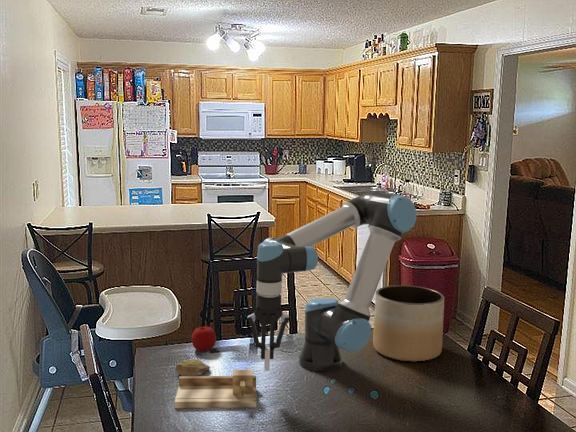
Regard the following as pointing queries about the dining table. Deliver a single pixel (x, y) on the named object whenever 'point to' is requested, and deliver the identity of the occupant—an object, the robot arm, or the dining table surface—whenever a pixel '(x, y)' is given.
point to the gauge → (242, 382)
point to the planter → (408, 322)
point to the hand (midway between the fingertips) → (266, 368)
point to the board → (211, 393)
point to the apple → (203, 339)
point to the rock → (191, 368)
